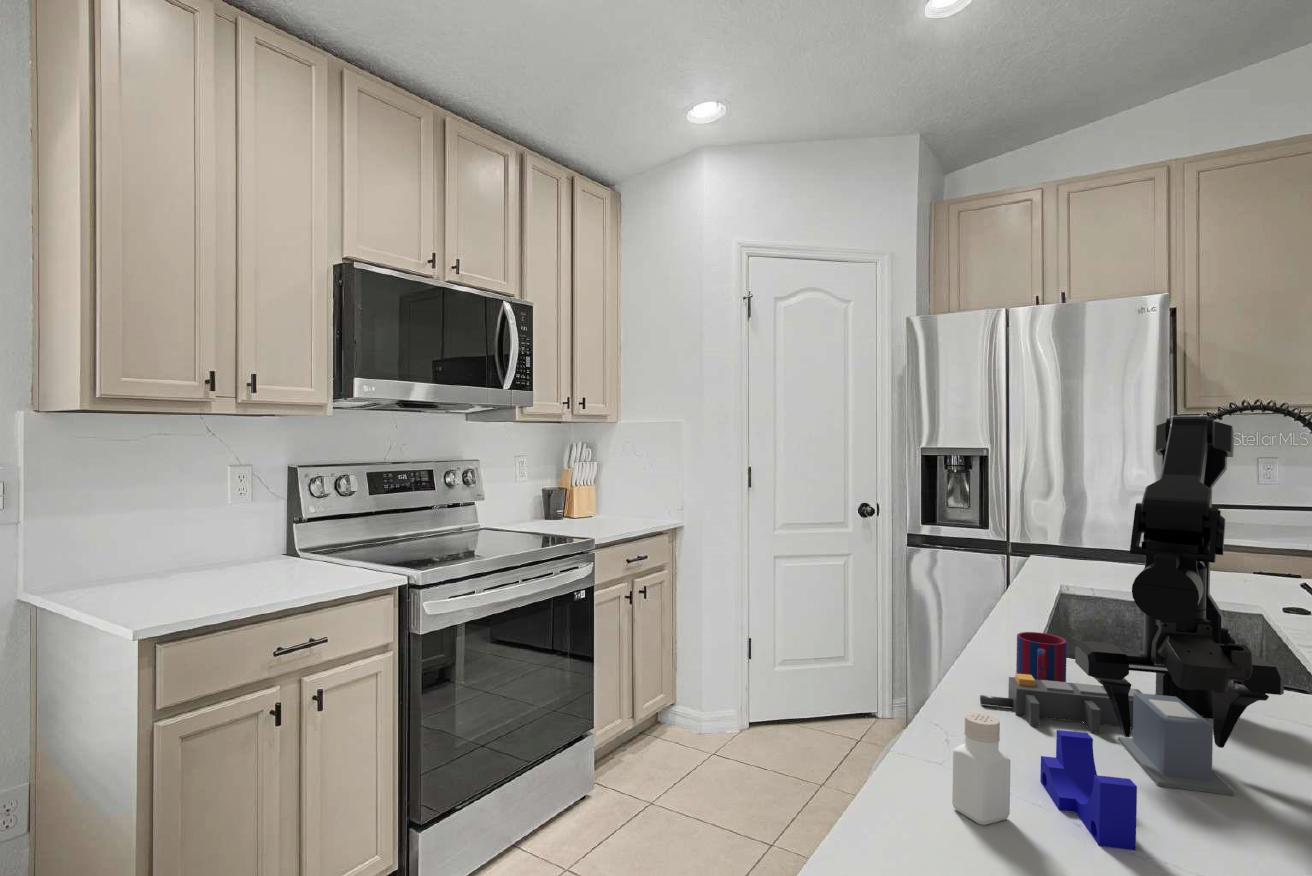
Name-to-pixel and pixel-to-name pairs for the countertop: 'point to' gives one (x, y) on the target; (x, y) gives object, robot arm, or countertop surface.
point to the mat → (1170, 781)
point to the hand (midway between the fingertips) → (1171, 740)
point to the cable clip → (1090, 791)
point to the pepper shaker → (981, 772)
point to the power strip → (1059, 702)
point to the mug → (1041, 656)
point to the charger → (1173, 736)
